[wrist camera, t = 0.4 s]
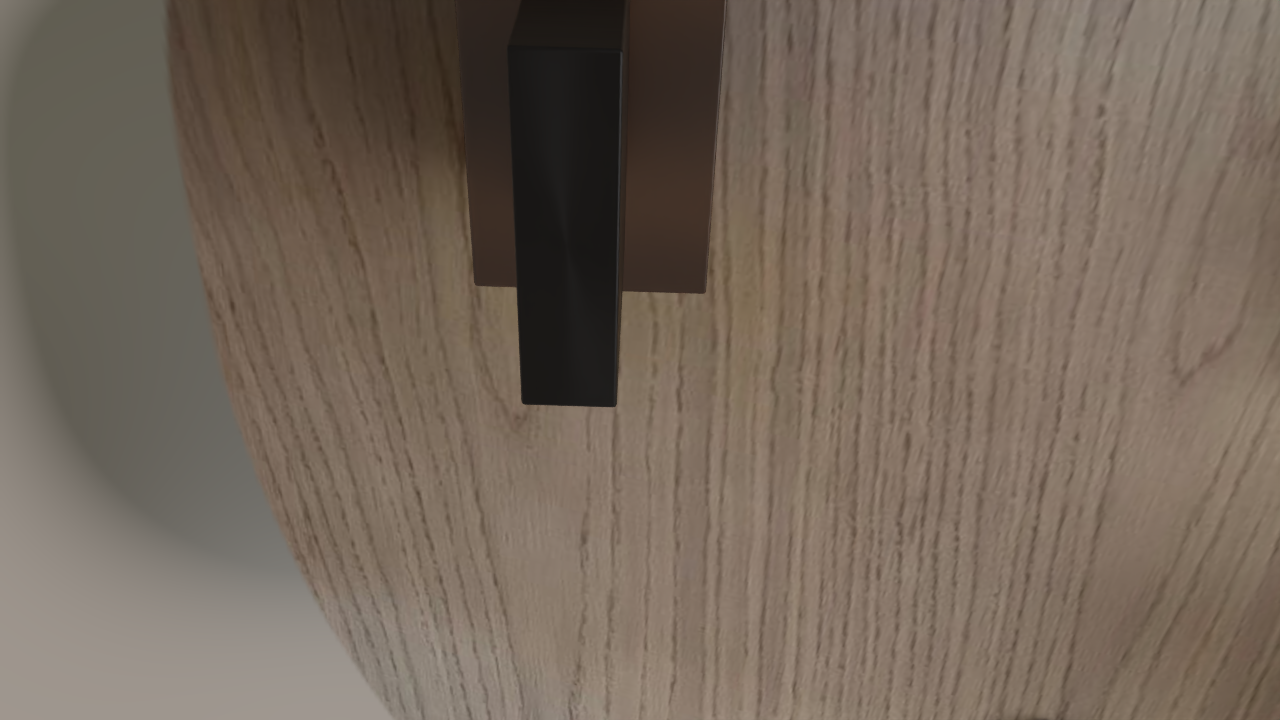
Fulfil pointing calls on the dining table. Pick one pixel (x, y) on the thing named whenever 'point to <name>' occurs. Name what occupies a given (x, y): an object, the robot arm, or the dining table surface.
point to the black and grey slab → (569, 195)
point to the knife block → (656, 140)
